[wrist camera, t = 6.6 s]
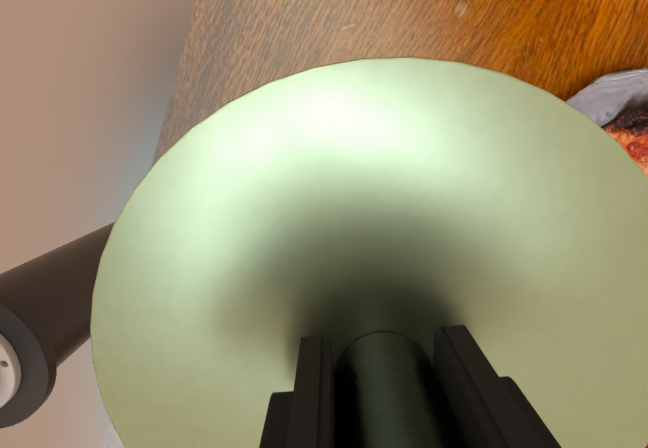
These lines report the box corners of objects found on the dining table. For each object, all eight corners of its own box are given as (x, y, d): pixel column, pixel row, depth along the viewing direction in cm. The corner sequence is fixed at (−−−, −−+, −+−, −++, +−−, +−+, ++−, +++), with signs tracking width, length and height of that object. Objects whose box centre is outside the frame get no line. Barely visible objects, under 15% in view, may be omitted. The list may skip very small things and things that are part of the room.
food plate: (682, 8, 28) (731, -8, 25) (789, 239, 33) (842, 252, 29) (410, 201, 32) (419, 210, 29) (538, 379, 37) (559, 405, 34)
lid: (175, 549, 13) (48, 898, 7) (47, 100, 9) (-484, 58, 3) (617, 527, 13) (875, 892, 7) (693, 29, 8) (1558, -192, 2)
